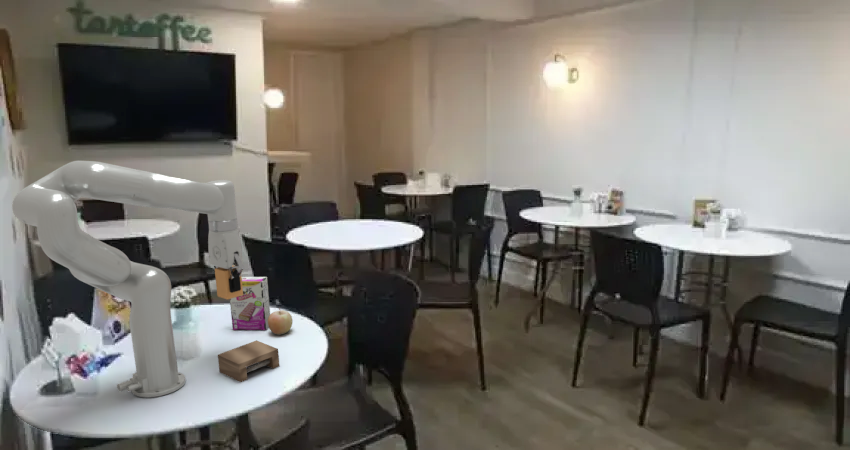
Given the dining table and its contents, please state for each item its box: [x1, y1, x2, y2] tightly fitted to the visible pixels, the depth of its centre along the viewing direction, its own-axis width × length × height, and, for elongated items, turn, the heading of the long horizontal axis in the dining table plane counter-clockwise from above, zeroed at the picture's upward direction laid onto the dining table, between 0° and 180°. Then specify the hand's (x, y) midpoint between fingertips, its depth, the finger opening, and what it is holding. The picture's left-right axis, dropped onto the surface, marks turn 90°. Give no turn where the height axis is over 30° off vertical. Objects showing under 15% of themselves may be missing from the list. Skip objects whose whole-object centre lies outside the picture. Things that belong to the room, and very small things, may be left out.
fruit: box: [268, 307, 293, 336], centre depth 188 cm, size 8×7×8 cm
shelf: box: [217, 340, 281, 383], centre depth 163 cm, size 12×10×5 cm
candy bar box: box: [229, 276, 271, 331], centre depth 192 cm, size 11×5×16 cm, turn 84°
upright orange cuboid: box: [214, 265, 243, 300], centre depth 170 cm, size 5×5×8 cm
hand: (229, 288), depth 171 cm, fingers closed on upright orange cuboid, 5 cm apart
